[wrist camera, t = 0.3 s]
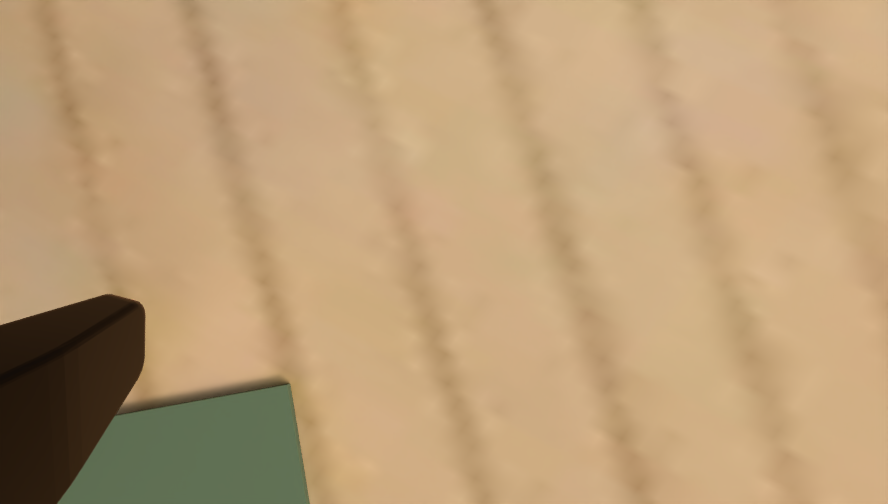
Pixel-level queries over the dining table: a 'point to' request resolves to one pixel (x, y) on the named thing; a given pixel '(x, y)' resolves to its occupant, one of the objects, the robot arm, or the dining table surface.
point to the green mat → (199, 454)
